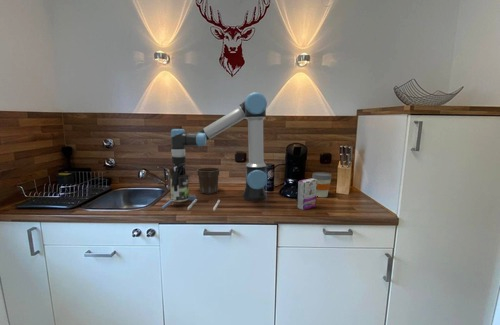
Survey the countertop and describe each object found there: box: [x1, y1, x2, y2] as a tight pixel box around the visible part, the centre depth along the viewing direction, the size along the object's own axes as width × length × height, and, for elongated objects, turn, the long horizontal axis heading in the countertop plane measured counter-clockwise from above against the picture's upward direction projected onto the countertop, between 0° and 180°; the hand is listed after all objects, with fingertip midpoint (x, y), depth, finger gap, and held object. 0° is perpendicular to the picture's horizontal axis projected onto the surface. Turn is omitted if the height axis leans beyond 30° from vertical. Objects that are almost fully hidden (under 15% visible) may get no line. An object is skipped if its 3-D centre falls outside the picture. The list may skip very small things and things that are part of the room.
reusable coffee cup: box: [311, 171, 332, 198], centre depth 161 cm, size 13×13×15 cm
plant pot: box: [196, 167, 221, 195], centre depth 167 cm, size 16×16×16 cm
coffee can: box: [169, 173, 190, 203], centre depth 138 cm, size 10×10×14 cm
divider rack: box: [161, 195, 221, 212], centre depth 140 cm, size 30×18×2 cm, turn 87°
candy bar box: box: [297, 178, 317, 211], centre depth 137 cm, size 11×5×16 cm, turn 126°
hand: (179, 193), depth 139 cm, fingers closed on coffee can, 10 cm apart
